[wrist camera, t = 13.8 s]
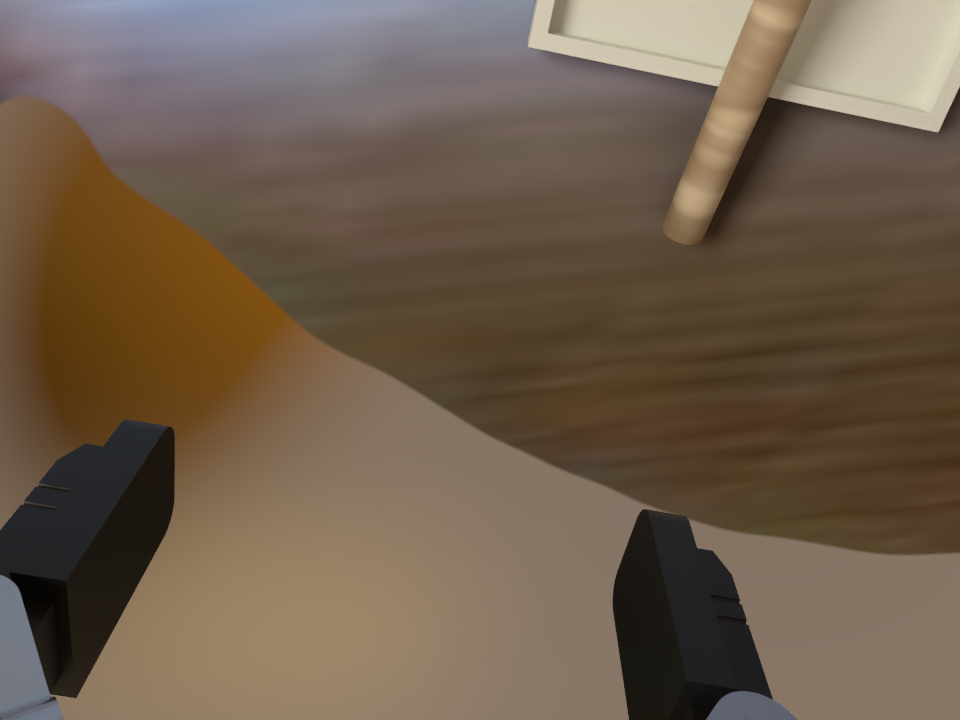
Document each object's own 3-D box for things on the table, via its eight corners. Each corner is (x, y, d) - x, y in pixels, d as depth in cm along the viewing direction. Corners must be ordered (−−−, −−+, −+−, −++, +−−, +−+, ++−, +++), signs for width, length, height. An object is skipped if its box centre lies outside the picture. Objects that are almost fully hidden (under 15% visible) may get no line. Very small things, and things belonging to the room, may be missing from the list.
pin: (795, -84, 34) (670, 265, 42) (851, -71, 34) (715, 275, 42) (764, -89, 39) (657, 223, 47) (812, -77, 39) (698, 233, 47)
